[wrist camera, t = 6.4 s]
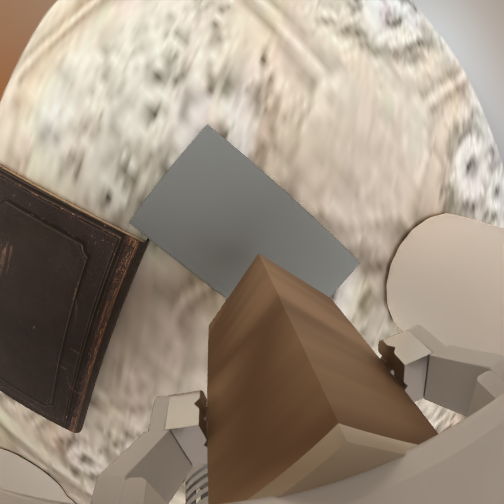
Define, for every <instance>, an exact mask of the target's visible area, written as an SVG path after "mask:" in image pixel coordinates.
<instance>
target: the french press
mask: <svg viewBox="0 0 504 504" xmlns="http://www.w3.org/2000/svg"><path fill="white" fill-rule="evenodd" d="M185 480H186V504H208V463H206V464H199V465H192V469H191V470H190V472H189V473H188V475H187V476H186V478H185ZM198 488H201V490H200V491H199V492H198V493H196V489H198ZM200 496H201V501H199V502H198V503H196V499H197V498H198V497H200Z"/></svg>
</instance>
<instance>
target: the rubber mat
mask: <svg viewBox="0 0 504 504" xmlns="http://www.w3.org/2000/svg"><path fill="white" fill-rule="evenodd" d="M129 223H130V224H132V225H133V226H134V227H135V228H137V229H138V230H139V231H140V232H141V233H143V234H144V235H145V236H146V237H148V238H149V239H150V240H151V241H153V242H154V243H155V244H156V245H158V246H159V247H160V248H162V249H163V250H164V251H165V252H167V253H168V254H169V255H170V256H172V257H173V258H174V259H176V260H177V261H178V262H179V263H181V264H182V265H183V266H185V267H186V268H187V269H188V270H190V271H191V272H192V273H194V274H195V275H196V276H198V277H199V278H200V279H201V280H203V281H204V282H205V283H207V284H208V285H209V286H211V287H212V288H213V289H215V290H216V291H217V292H219V293H220V294H221V295H223V296H224V297H225V298H227V299H228V297H229V296H230V294H231V293H232V291H233V290H234V288H235V287H236V286H237V284H238V283H239V281H240V280H241V278H242V277H243V275H244V274H245V272H246V271H247V269H248V268H249V266H250V265H251V263H252V262H253V260H254V259H255V258H256V256H257V255H258V253H259V254H261V255H262V256H264V257H265V258H267V259H269V260H270V261H272V262H274V263H275V264H277V265H278V266H280V267H282V268H283V269H285V270H286V271H288V272H290V273H291V274H293V275H294V276H296V277H298V278H299V279H301V280H302V281H304V282H306V283H307V284H309V285H310V286H312V287H314V288H315V289H317V290H319V291H320V292H322V293H323V294H325V295H327V296H328V297H330V296H331V295H332V294H333V293H334V292H335V291H336V290H337V289H338V287H339V286H340V285H341V284H342V283H343V282H344V281H345V280H346V278H347V277H348V276H349V275H350V274H351V273H352V272H353V270H354V269H355V268H356V267H357V266H358V265H359V264H360V262H359V261H358V260H357V259H356V258H355V257H354V256H353V255H352V254H351V253H350V252H349V251H348V250H347V249H346V248H345V247H344V246H343V245H342V244H341V243H340V242H339V241H338V240H337V239H336V238H335V237H334V236H333V235H332V234H331V233H329V232H328V231H327V230H326V229H325V228H324V227H323V226H322V225H321V224H320V223H319V222H318V221H317V220H316V219H315V218H314V217H313V216H312V215H310V214H309V213H308V212H307V211H306V210H305V209H304V208H303V207H302V206H301V205H300V204H299V203H297V202H296V201H295V200H294V199H293V198H292V197H291V196H290V195H289V194H288V193H286V192H285V191H284V190H283V189H282V188H281V187H280V186H279V185H278V184H276V183H275V182H274V181H273V180H272V179H271V178H270V177H269V176H267V175H266V174H265V173H264V172H263V171H262V170H261V169H259V168H258V167H257V166H256V165H255V164H254V163H253V162H251V161H250V160H249V159H248V158H247V157H246V156H244V155H243V154H242V153H241V152H240V151H239V150H237V149H236V148H235V147H234V146H233V145H231V144H230V143H229V142H228V141H227V140H225V139H224V138H223V137H222V136H221V135H219V134H218V133H217V132H216V131H215V130H213V129H212V128H211V127H210V126H208V125H207V126H206V127H205V128H204V129H203V130H202V131H201V132H200V134H199V135H198V136H197V137H196V138H195V139H194V140H193V142H192V143H191V144H190V145H189V146H188V147H187V149H186V150H185V151H184V152H183V153H182V155H181V156H180V157H179V158H178V159H177V161H176V162H175V163H174V164H173V165H172V167H171V168H170V169H169V170H168V172H167V173H166V174H165V175H164V177H163V178H162V179H161V180H160V182H159V183H158V184H157V185H156V187H155V188H154V189H153V191H152V192H151V193H150V194H149V196H148V197H147V198H146V200H145V201H144V202H143V204H142V205H141V206H140V208H139V209H138V210H137V212H136V213H135V214H134V216H133V217H132V218H131V220H130V221H129Z"/></svg>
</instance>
